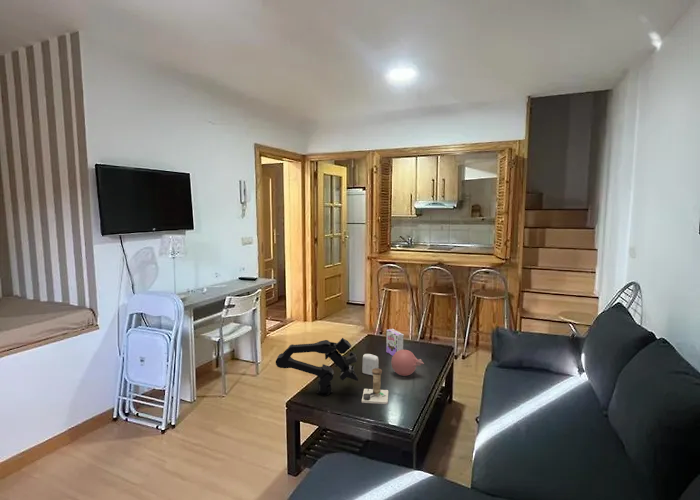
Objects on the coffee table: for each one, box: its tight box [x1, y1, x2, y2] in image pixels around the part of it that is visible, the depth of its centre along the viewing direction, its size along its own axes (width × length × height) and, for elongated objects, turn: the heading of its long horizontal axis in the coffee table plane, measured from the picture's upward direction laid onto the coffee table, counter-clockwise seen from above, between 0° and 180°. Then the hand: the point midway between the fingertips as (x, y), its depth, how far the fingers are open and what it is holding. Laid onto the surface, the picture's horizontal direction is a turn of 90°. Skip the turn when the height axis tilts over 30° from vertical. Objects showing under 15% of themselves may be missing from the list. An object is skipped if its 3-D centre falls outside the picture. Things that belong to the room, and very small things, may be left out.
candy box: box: [385, 328, 405, 357], centre depth 274 cm, size 14×6×16 cm, turn 25°
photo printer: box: [361, 353, 380, 377], centre depth 242 cm, size 10×4×12 cm, turn 60°
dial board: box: [361, 388, 389, 405], centre depth 213 cm, size 14×14×1 cm
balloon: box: [390, 349, 425, 377], centre depth 240 cm, size 15×20×15 cm
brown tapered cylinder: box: [362, 367, 383, 400], centre depth 211 cm, size 11×5×14 cm, turn 129°
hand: (358, 380), depth 215 cm, fingers closed
